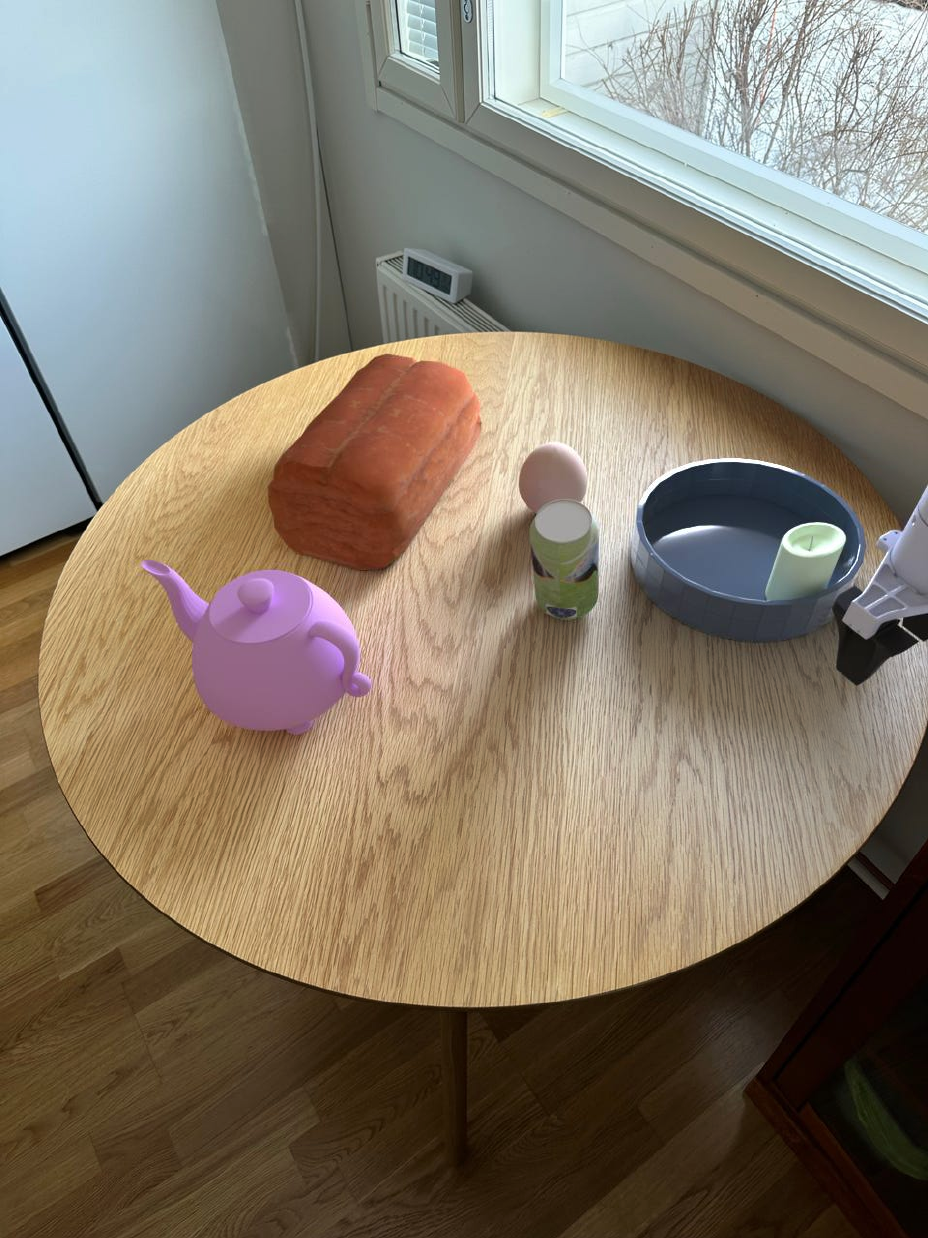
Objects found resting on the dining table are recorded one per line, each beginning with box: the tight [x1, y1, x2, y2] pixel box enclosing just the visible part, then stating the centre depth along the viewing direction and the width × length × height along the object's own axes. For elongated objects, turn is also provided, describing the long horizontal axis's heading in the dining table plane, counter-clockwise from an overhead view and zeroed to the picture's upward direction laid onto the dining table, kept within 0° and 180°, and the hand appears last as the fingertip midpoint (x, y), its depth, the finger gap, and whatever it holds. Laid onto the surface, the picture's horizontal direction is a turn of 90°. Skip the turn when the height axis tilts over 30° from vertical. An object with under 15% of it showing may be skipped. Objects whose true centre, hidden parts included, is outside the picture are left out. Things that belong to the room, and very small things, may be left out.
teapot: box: [141, 559, 373, 736], centre depth 70 cm, size 20×14×12 cm
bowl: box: [630, 457, 867, 643], centre depth 81 cm, size 21×21×5 cm
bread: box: [267, 353, 482, 571], centre depth 89 cm, size 16×27×11 cm, turn 158°
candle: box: [765, 523, 846, 601], centre depth 75 cm, size 5×5×8 cm
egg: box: [518, 441, 588, 515], centre depth 86 cm, size 7×7×8 cm
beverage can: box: [528, 499, 600, 621], centre depth 75 cm, size 6×7×12 cm
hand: (882, 653), depth 62 cm, fingers open, 7 cm apart
